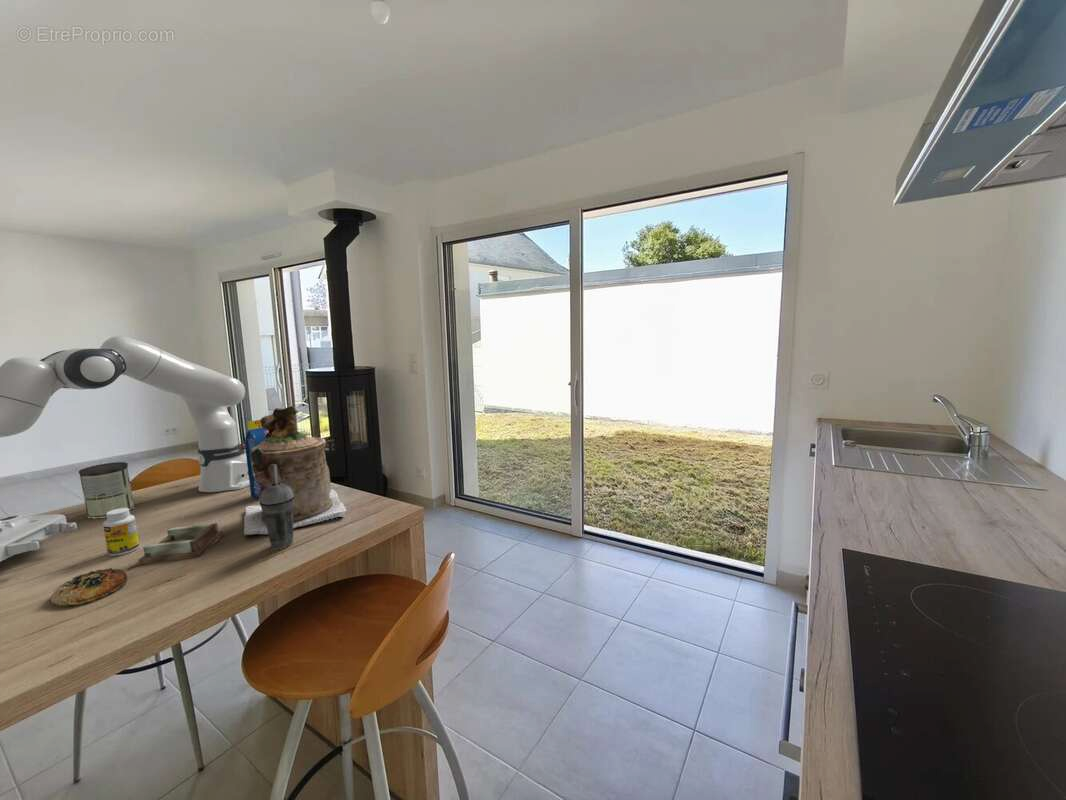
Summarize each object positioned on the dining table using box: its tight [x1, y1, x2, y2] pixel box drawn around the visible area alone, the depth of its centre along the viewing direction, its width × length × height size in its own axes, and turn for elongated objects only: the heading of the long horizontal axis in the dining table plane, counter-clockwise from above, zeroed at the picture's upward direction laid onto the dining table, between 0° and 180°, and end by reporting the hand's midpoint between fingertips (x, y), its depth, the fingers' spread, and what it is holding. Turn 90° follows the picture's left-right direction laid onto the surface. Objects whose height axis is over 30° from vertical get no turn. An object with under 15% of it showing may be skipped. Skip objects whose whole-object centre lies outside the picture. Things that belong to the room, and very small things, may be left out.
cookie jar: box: [243, 405, 347, 537], centre depth 122 cm, size 25×25×32 cm
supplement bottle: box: [102, 508, 140, 557], centre depth 103 cm, size 6×6×10 cm
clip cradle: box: [138, 522, 225, 564], centre depth 104 cm, size 12×12×4 cm
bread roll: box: [50, 567, 128, 607], centre depth 86 cm, size 11×11×5 cm
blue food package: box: [244, 419, 269, 500], centre depth 141 cm, size 6×12×25 cm, turn 152°
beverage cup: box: [259, 464, 295, 550], centre depth 103 cm, size 7×7×20 cm
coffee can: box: [78, 461, 135, 518], centre depth 128 cm, size 10×10×14 cm
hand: (58, 535), depth 100 cm, fingers open, 8 cm apart
